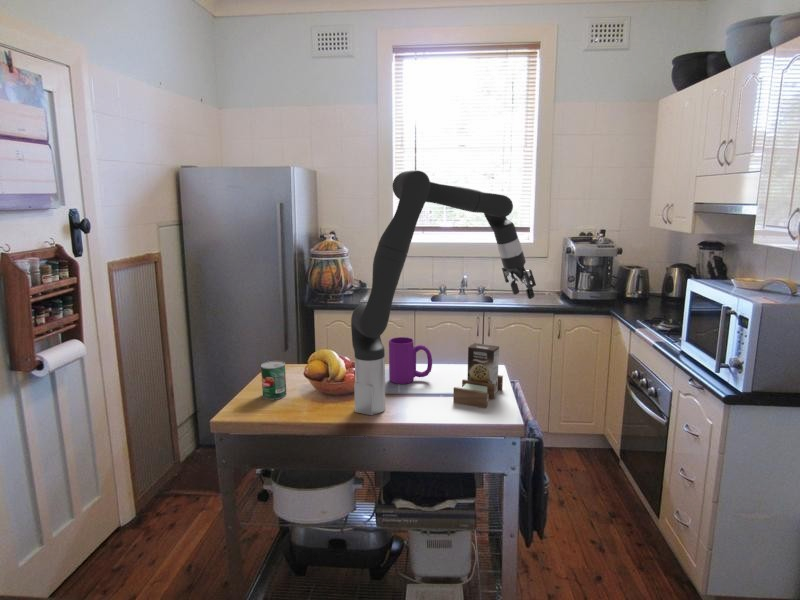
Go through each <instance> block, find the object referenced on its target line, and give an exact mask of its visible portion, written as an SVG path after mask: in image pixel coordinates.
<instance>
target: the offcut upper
mask: <svg viewBox="0 0 800 600" xmlns="http://www.w3.org/2000/svg"><path fill="white" fill-rule="evenodd" d="M461 388H465V389H471V390H477V391H483V392H487V387H486V386H479V385H473V384H467V383H466V384H465V385H464V386H463V387H462V386H461Z"/></svg>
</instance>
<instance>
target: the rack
mask: <svg viewBox="0 0 800 600" xmlns="http://www.w3.org/2000/svg"><path fill="white" fill-rule="evenodd" d="M503 380H504V375H501V374H498V388H497V390H498V391H501V390H502V391H503V384H504V383H503V382H504V381H503ZM466 383H467V384H473V385H479V386H486V387H487V392H483V391H477V390H471V389H465V388H462V387H463V386H464V385H465V384H466ZM488 394H489V397H488ZM452 397H453V404H459V405H466V406H471V407H477V408H481V409H482V408H483V409H487V408H488V401H489V400H495V399H496V393H495V384H491V383H485V382H478V381H472V380H467V379H466V378H465V379H464V378H463V379H462V382H461V387H459V386H454V387H453V396H452ZM487 400H488V401H487Z"/></svg>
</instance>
